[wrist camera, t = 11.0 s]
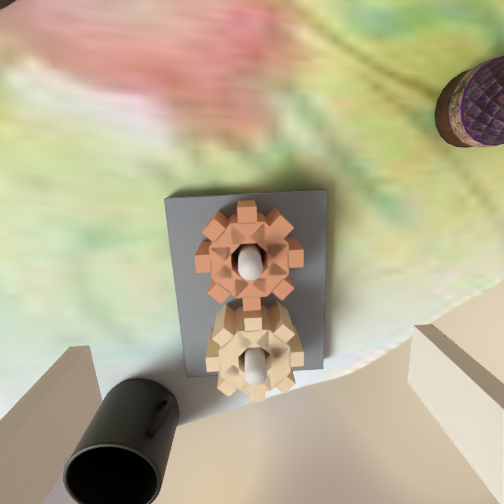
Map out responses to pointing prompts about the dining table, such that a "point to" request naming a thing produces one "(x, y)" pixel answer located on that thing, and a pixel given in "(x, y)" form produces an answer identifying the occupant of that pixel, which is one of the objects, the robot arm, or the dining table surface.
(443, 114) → the mug
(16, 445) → the robot arm
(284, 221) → the gear
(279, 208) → the gear board
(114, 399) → the mug
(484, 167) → the dining table surface
